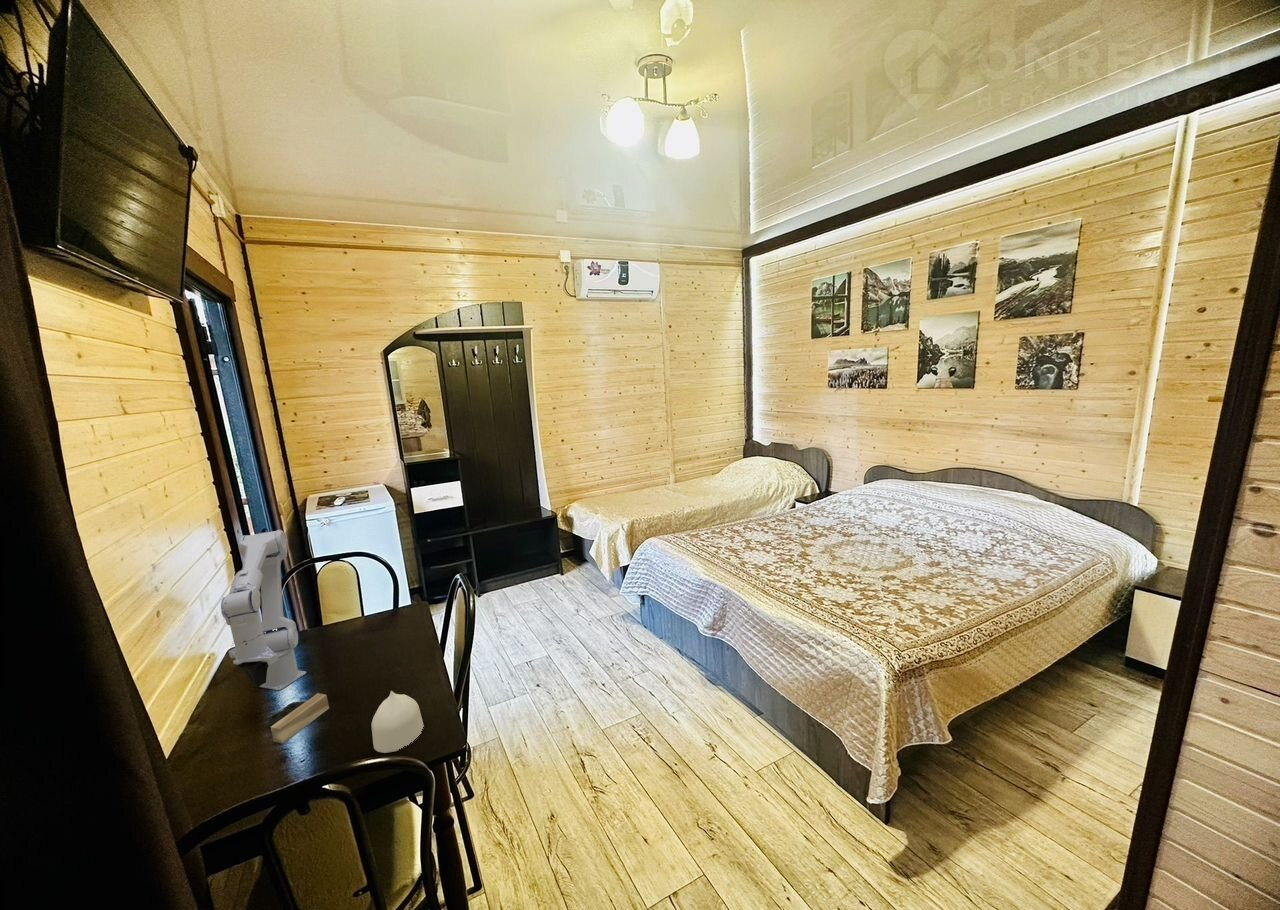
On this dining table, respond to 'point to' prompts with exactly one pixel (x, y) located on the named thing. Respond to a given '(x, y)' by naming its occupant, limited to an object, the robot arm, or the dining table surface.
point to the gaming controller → (284, 712)
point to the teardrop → (396, 723)
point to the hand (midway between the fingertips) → (260, 684)
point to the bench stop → (299, 718)
